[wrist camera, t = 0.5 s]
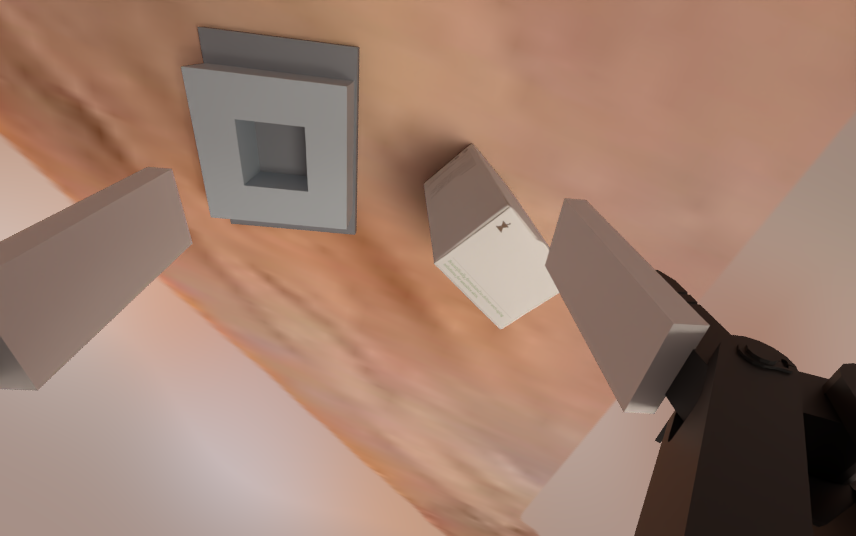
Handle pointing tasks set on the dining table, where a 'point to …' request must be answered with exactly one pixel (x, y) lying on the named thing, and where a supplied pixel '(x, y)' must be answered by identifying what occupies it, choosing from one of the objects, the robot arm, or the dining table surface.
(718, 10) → the dining table surface
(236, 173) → the socket
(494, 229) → the skincare box
